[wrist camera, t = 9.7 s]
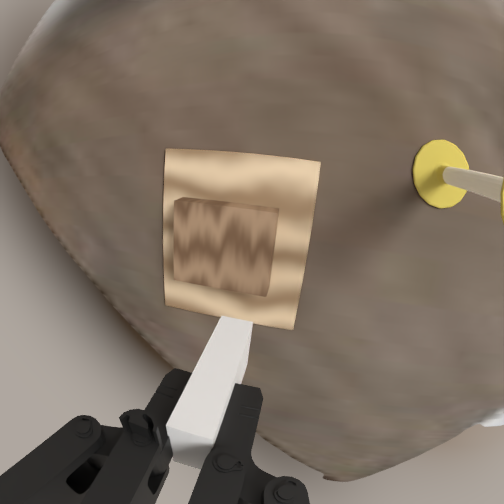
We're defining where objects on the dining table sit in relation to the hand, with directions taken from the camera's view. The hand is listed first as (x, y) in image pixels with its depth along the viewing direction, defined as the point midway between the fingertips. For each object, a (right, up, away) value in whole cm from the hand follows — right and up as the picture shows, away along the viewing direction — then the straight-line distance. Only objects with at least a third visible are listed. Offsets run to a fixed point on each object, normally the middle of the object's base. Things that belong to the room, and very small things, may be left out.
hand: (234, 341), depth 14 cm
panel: (+4, +4, +26) cm, 27 cm away
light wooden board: (-2, +6, +29) cm, 30 cm away
